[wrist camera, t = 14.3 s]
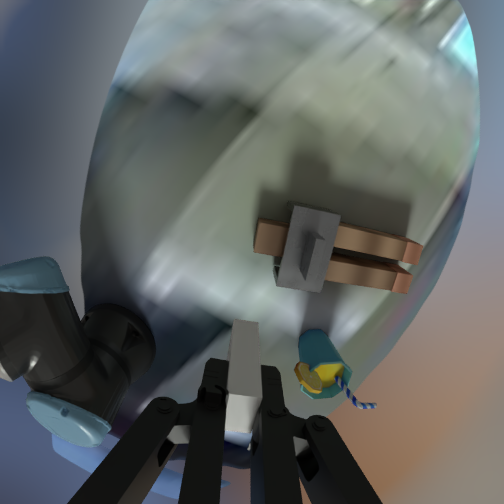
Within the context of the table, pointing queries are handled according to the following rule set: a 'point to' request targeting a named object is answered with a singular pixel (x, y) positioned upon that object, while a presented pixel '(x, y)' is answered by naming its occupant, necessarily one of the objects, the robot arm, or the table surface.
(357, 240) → the hinged jaw
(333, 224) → the collar
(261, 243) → the base
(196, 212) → the table surface
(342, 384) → the cup
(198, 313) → the table surface
